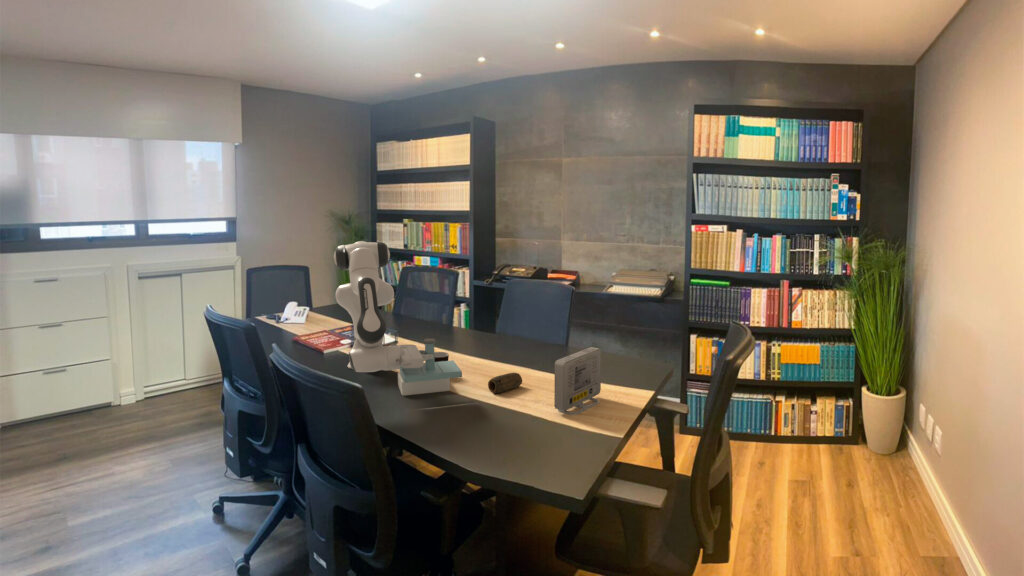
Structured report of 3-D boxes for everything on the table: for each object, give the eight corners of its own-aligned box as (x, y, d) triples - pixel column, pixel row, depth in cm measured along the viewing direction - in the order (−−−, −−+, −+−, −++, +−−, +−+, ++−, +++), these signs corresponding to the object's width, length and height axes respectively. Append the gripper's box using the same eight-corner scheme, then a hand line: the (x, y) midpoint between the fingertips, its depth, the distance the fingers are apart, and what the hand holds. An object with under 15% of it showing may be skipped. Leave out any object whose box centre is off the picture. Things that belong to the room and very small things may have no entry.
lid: (399, 371, 234) (398, 337, 231) (453, 366, 240) (452, 333, 237) (404, 382, 219) (403, 347, 217) (462, 377, 225) (461, 342, 223)
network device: (587, 394, 241) (587, 345, 237) (606, 399, 235) (607, 348, 232) (549, 413, 221) (549, 359, 218) (569, 418, 216) (569, 364, 212)
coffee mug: (451, 378, 262) (451, 355, 261) (432, 380, 259) (431, 358, 258) (444, 371, 273) (443, 349, 271) (425, 373, 270) (424, 351, 268)
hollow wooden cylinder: (499, 397, 239) (499, 380, 238) (486, 393, 244) (486, 377, 243) (524, 387, 250) (524, 371, 249) (511, 383, 255) (511, 368, 254)
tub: (398, 386, 252) (397, 372, 251) (443, 382, 257) (443, 368, 256) (402, 397, 240) (401, 382, 239) (449, 391, 245) (449, 377, 244)
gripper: (397, 356, 214) (436, 353, 218) (391, 342, 233) (427, 340, 237) (398, 374, 215) (437, 370, 219) (392, 358, 235) (427, 355, 239)
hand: (432, 354), depth 229 cm, fingers closed on lid, 3 cm apart
